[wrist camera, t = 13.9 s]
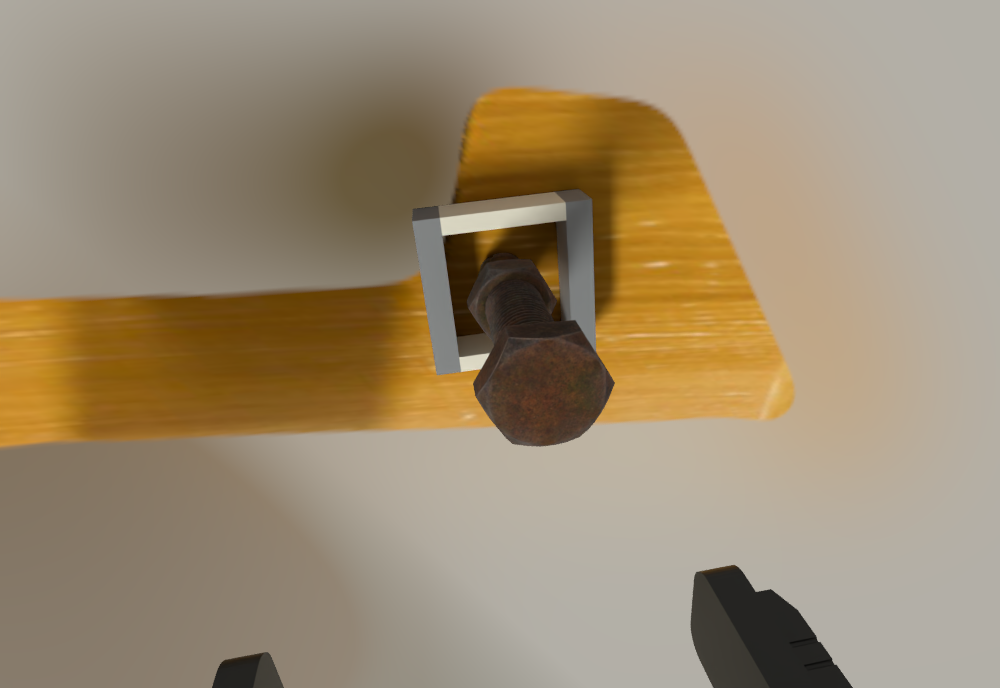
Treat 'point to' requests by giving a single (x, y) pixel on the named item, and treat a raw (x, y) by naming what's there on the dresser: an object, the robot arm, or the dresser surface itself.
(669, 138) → the dresser surface
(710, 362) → the dresser surface
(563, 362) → the bolt
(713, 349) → the dresser surface
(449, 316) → the grey white square frame
